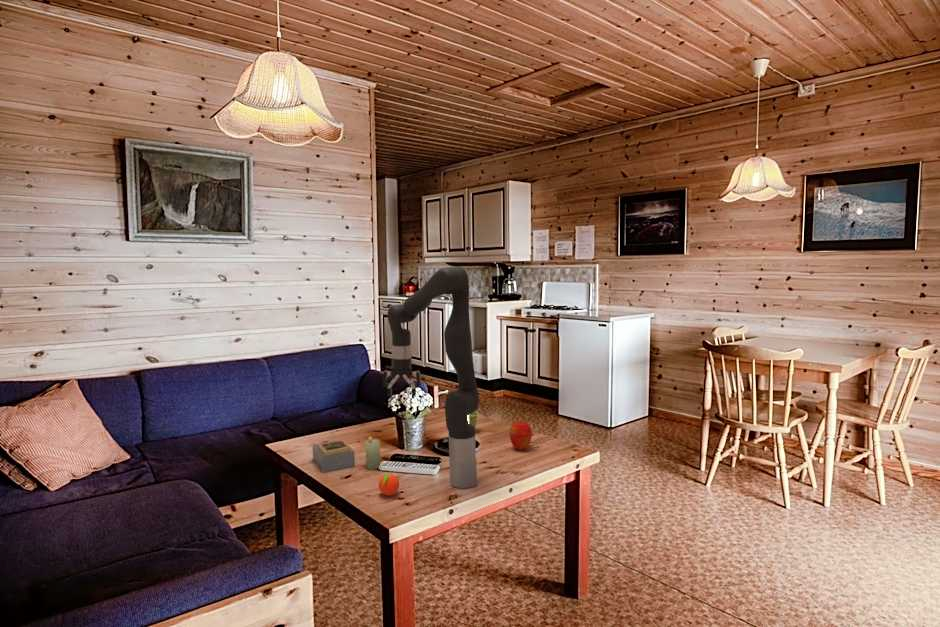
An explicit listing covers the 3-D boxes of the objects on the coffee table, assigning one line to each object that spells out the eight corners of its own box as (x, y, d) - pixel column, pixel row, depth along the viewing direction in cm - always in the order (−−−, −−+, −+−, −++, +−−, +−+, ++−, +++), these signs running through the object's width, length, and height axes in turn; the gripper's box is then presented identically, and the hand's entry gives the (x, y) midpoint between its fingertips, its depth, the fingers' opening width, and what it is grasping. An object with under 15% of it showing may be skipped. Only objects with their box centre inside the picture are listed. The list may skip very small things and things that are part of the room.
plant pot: (464, 428, 261) (464, 409, 260) (482, 431, 256) (482, 412, 255) (453, 433, 253) (453, 414, 252) (472, 437, 248) (471, 417, 247)
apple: (508, 445, 237) (508, 417, 235) (530, 444, 237) (530, 416, 235) (510, 453, 227) (510, 424, 226) (533, 452, 227) (532, 423, 226)
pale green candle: (372, 463, 219) (370, 433, 218) (383, 465, 217) (382, 434, 216) (363, 468, 215) (362, 437, 213) (375, 470, 212) (373, 439, 211)
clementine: (393, 501, 186) (392, 480, 185) (374, 499, 187) (373, 478, 187) (402, 491, 193) (402, 471, 192) (384, 489, 195) (383, 469, 194)
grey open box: (354, 466, 216) (354, 447, 216) (323, 472, 211) (322, 453, 210) (342, 453, 230) (342, 435, 230) (313, 459, 225) (312, 440, 224)
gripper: (381, 358, 214) (382, 400, 217) (419, 358, 214) (419, 400, 217) (384, 354, 222) (384, 394, 224) (420, 354, 222) (421, 394, 224)
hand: (401, 397), depth 220 cm, fingers open, 8 cm apart
